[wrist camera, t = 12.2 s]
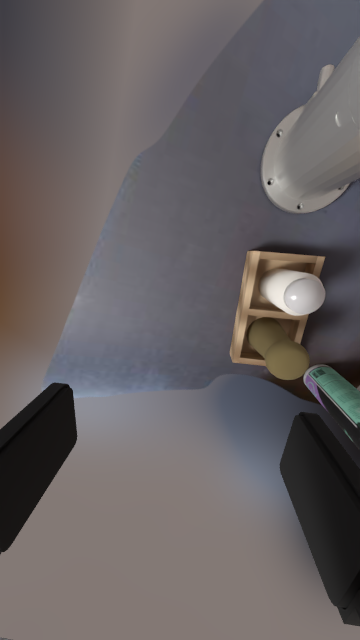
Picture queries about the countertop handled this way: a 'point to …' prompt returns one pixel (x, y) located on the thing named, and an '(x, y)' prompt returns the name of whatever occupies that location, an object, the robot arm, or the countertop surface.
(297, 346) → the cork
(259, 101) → the countertop surface
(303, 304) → the salt shaker
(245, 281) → the caddy
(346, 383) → the spray can
